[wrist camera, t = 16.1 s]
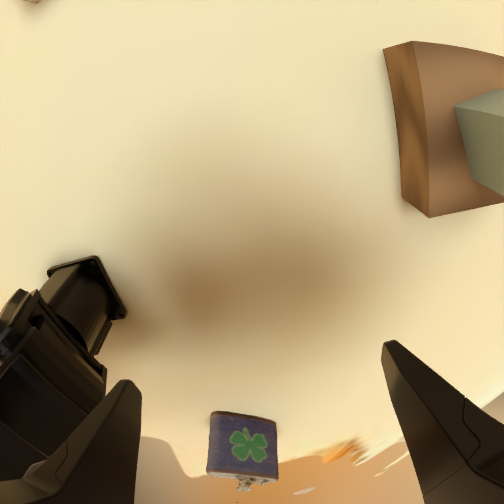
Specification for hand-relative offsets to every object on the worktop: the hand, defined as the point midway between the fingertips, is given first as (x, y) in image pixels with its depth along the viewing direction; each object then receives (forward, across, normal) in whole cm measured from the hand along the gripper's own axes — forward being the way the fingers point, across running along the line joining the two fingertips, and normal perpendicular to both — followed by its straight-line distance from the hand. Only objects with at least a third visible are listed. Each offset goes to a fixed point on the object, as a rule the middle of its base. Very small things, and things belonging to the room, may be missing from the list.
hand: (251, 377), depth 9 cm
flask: (+13, +7, +27) cm, 31 cm away
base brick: (+13, -17, -5) cm, 22 cm away
